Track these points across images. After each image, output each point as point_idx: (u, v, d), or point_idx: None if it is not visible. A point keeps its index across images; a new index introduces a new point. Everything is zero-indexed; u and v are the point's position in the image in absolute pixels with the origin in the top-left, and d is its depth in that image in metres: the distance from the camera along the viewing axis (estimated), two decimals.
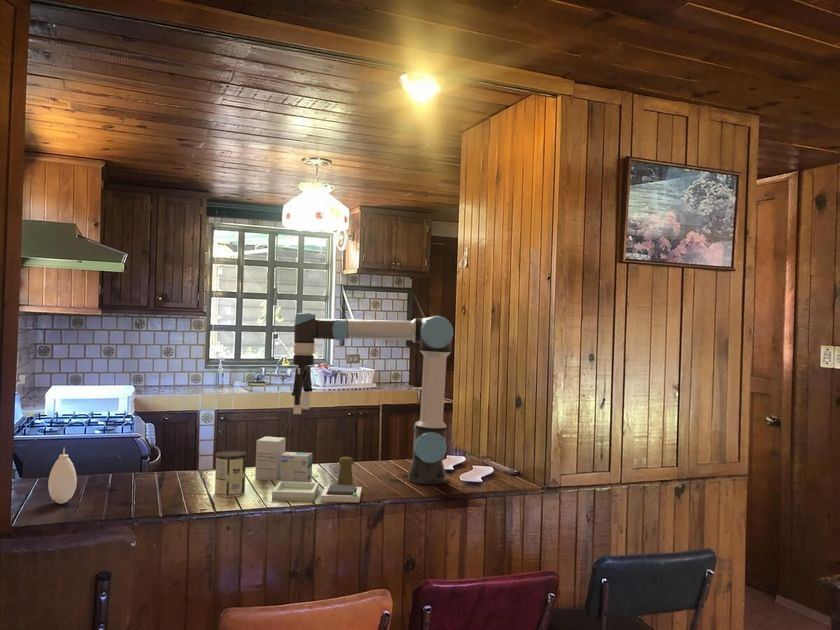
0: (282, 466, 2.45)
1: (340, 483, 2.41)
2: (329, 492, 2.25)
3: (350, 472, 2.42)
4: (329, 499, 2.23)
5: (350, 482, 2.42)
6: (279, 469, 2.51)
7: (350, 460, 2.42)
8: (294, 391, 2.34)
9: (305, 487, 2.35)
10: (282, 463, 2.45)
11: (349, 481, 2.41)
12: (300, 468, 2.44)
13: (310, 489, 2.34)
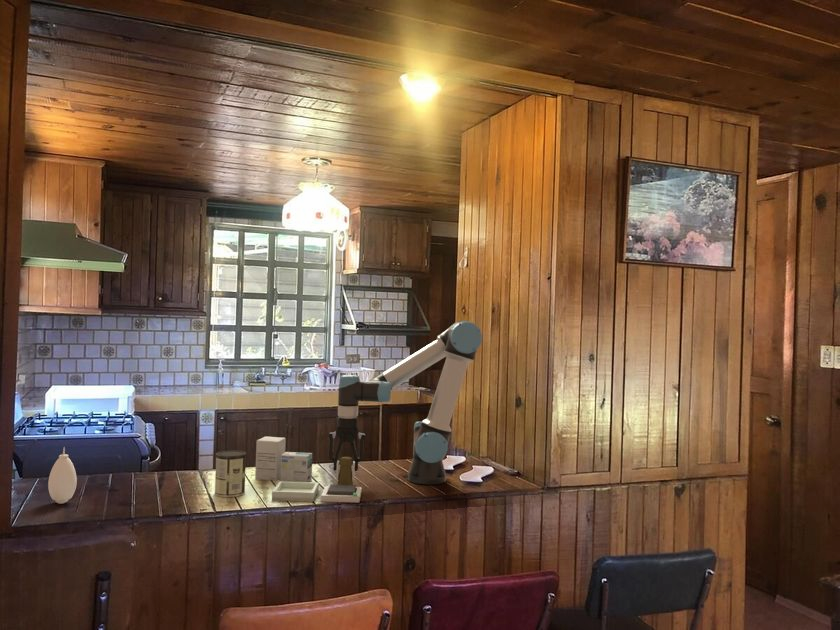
0: (282, 466, 2.45)
1: (340, 483, 2.41)
2: (329, 492, 2.25)
3: (350, 472, 2.42)
4: (329, 499, 2.23)
5: (350, 482, 2.42)
6: (279, 469, 2.51)
7: (350, 460, 2.42)
8: None
9: (305, 487, 2.35)
10: (282, 463, 2.45)
11: (349, 481, 2.41)
12: (300, 468, 2.44)
13: (310, 489, 2.34)
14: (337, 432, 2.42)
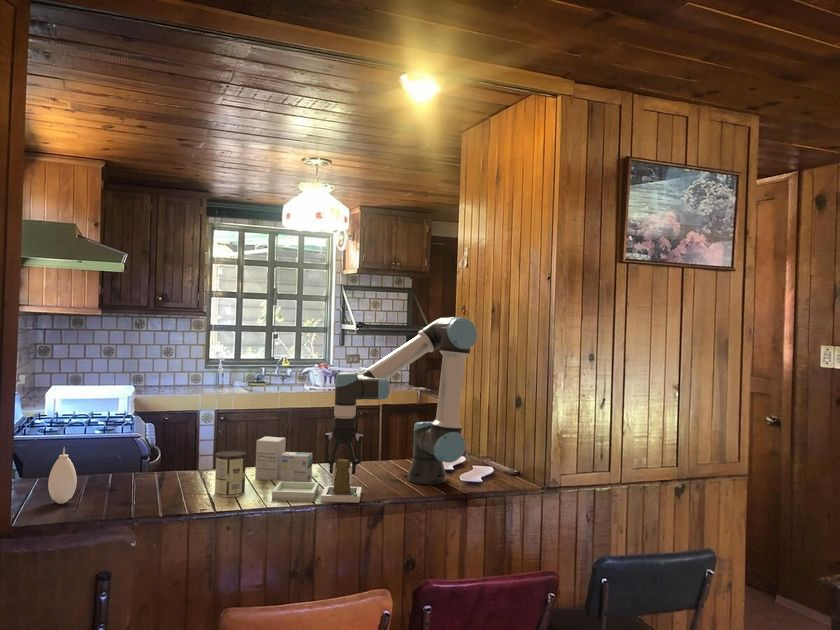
0: (282, 466, 2.45)
1: (336, 487, 2.27)
2: None
3: (347, 475, 2.28)
4: (329, 499, 2.23)
5: (347, 486, 2.28)
6: (279, 469, 2.51)
7: (347, 463, 2.28)
8: None
9: (305, 487, 2.35)
10: (282, 463, 2.45)
11: (346, 485, 2.27)
12: (300, 468, 2.44)
13: (310, 489, 2.34)
14: (333, 433, 2.28)
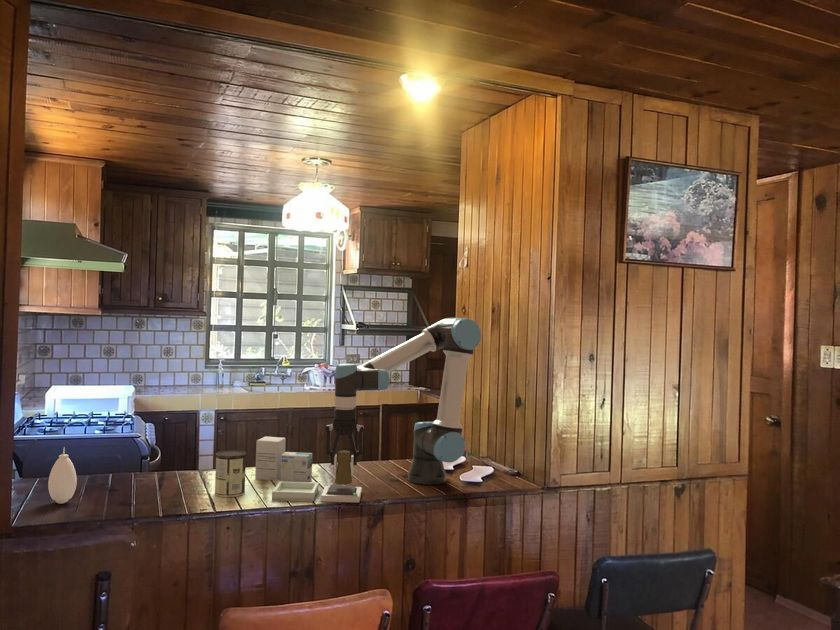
0: (282, 466, 2.45)
1: (338, 478, 2.27)
2: (329, 493, 2.25)
3: (348, 467, 2.28)
4: (329, 499, 2.23)
5: (349, 477, 2.28)
6: (279, 469, 2.51)
7: (348, 454, 2.28)
8: None
9: (305, 487, 2.35)
10: (282, 463, 2.45)
11: (347, 476, 2.27)
12: (300, 468, 2.44)
13: (310, 489, 2.34)
14: (334, 424, 2.28)
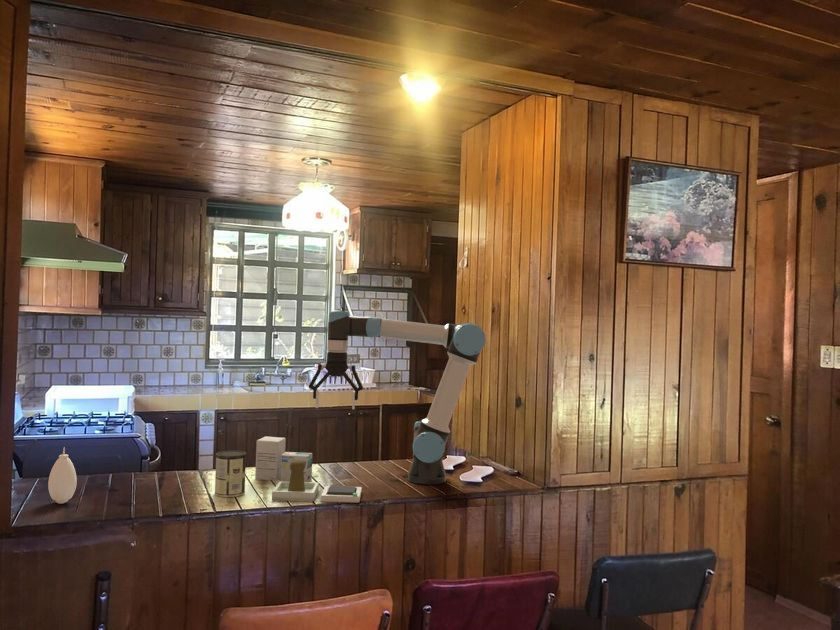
0: (282, 466, 2.45)
1: (291, 489, 2.27)
2: (329, 493, 2.25)
3: (301, 477, 2.28)
4: (329, 499, 2.23)
5: (301, 488, 2.27)
6: (279, 469, 2.51)
7: (301, 464, 2.27)
8: None
9: (305, 487, 2.35)
10: (282, 463, 2.45)
11: (300, 486, 2.27)
12: None
13: (310, 489, 2.34)
14: (327, 366, 2.44)
